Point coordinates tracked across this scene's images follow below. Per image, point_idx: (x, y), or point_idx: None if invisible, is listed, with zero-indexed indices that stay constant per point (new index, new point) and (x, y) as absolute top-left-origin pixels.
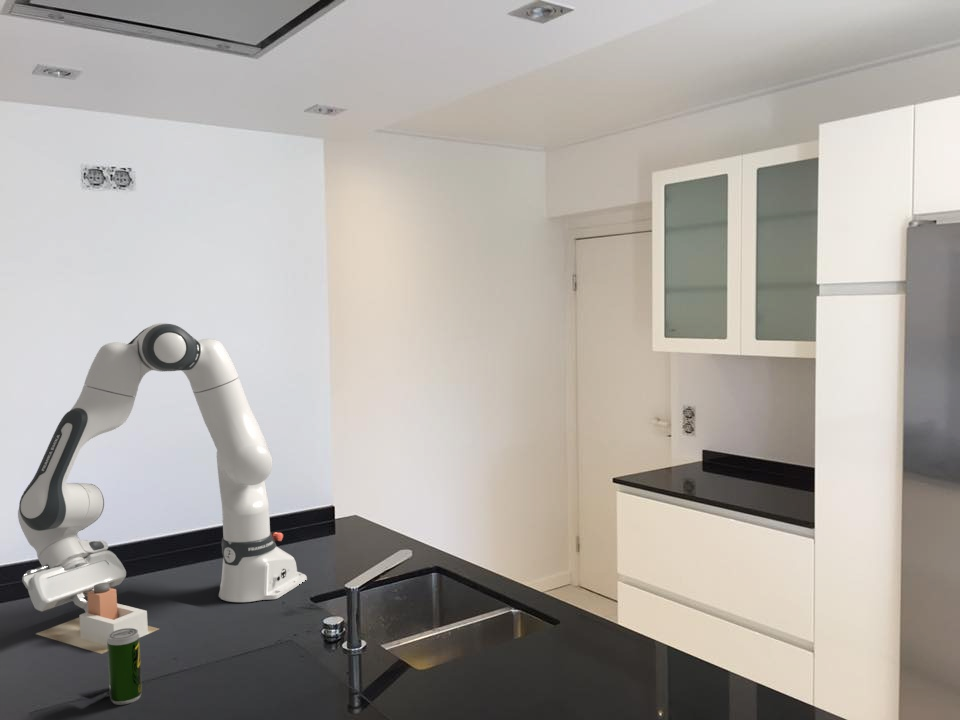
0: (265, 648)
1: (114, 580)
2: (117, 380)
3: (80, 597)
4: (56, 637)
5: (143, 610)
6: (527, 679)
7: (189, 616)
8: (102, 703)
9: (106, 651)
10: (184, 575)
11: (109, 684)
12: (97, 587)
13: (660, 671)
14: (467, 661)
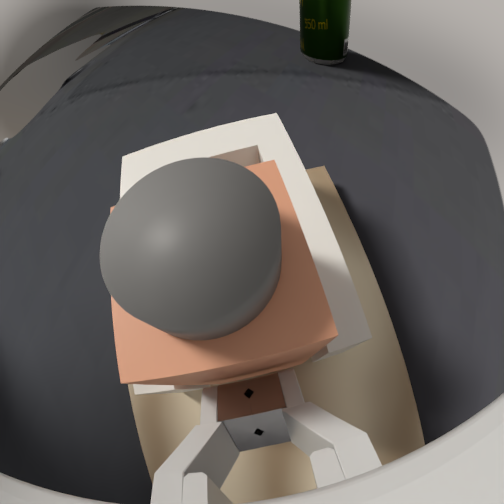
0: (100, 87)
1: (26, 483)
2: None
3: (350, 448)
4: (405, 426)
5: (125, 166)
6: (96, 23)
7: (23, 303)
8: (356, 63)
9: (307, 170)
10: None
11: (348, 35)
12: (254, 188)
13: (73, 26)
14: (81, 39)
